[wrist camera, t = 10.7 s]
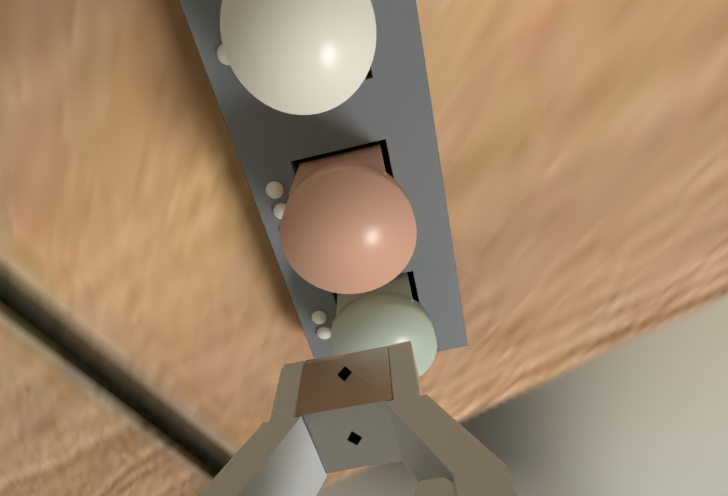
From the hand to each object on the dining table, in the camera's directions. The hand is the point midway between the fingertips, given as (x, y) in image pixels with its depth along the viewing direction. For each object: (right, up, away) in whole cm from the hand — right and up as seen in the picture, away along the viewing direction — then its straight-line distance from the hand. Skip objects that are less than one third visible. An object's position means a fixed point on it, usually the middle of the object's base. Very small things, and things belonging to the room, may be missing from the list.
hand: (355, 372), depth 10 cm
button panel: (-1, +7, +13) cm, 15 cm away
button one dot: (-2, +12, +9) cm, 15 cm away
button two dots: (+1, 0, +15) cm, 15 cm away
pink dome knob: (-1, +6, +11) cm, 12 cm away
